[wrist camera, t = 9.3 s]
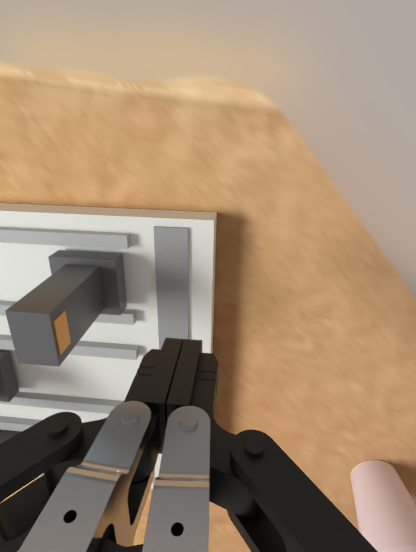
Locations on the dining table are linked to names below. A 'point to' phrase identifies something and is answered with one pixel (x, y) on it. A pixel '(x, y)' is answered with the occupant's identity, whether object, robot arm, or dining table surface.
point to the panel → (106, 328)
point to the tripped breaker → (66, 305)
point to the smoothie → (384, 507)
